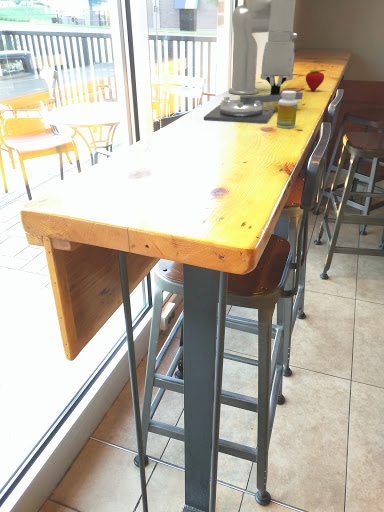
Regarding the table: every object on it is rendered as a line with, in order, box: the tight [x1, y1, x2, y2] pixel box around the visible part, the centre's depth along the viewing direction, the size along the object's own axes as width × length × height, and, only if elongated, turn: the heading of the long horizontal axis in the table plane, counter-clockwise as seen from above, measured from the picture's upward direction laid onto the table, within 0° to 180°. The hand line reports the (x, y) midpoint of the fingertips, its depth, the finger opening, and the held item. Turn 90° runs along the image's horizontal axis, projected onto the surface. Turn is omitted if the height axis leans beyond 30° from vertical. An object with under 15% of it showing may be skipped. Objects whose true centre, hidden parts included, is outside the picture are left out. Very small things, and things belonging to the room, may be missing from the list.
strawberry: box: [305, 67, 325, 92], centre depth 170 cm, size 6×8×10 cm
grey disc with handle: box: [219, 91, 304, 116], centre depth 136 cm, size 29×14×4 cm, turn 109°
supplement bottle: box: [276, 90, 299, 129], centre depth 119 cm, size 5×5×10 cm
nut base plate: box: [203, 104, 277, 124], centre depth 135 cm, size 20×20×1 cm
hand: (274, 97), depth 140 cm, fingers closed
